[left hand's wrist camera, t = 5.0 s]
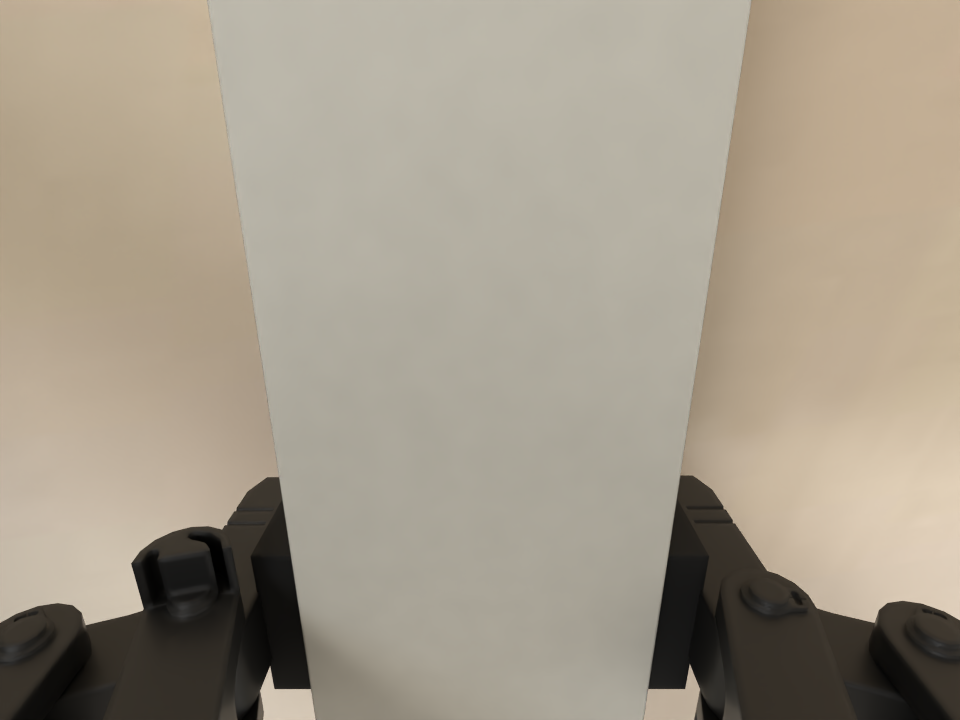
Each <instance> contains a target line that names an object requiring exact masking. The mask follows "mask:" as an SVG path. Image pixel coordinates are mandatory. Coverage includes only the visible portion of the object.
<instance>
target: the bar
mask: <svg viewBox="0 0 960 720" xmlns="http://www.w3.org/2000/svg"><path fill="white" fill-rule="evenodd" d="M751 1H752V0H207V2H208V9H209V15H210V22H211V29H212V35H213V42H214V48H215V55H216V62H217V68H218V75H219V82H220V88H221V95H222V101H223V108H224V115H225V121H226V128H227V135H228V141H229V148H230V154H231V161H232V168H233V174H234V181H235V188H236V194H237V201H238V208H239V214H240V221H241V227H242V234H243V241H244V247H245V254H246V261H247V267H248V274H249V280H250V287H251V294H252V300H253V307H254V314H255V320H256V327H257V333H258V340H259V347H260V353H261V360H262V367H263V373H264V380H265V387H266V393H267V400H268V406H269V413H270V420H271V426H272V433H273V440H274V446H275V453H276V459H277V466H278V473H279V479H280V486H281V493H282V499H283V506H284V512H285V519H286V526H287V532H288V539H289V546H290V552H291V559H292V566H293V572H294V579H295V585H296V592H297V599H298V605H299V612H300V619H301V625H302V632H303V638H304V645H305V652H306V658H307V665H308V672H309V678H310V685H311V691H312V698H313V705H314V711H315V718H316V720H644V713H645V707H646V700H647V693H648V687H649V680H650V673H651V667H652V660H653V653H654V647H655V640H656V633H657V627H658V620H659V613H660V607H661V600H662V593H663V587H664V580H665V573H666V567H667V560H668V553H669V547H670V540H671V533H672V527H673V520H674V513H675V507H676V500H677V494H678V487H679V480H680V474H681V467H682V460H683V454H684V447H685V440H686V434H687V427H688V420H689V414H690V407H691V400H692V394H693V387H694V380H695V374H696V367H697V360H698V354H699V347H700V340H701V334H702V327H703V320H704V314H705V307H706V300H707V294H708V287H709V280H710V274H711V267H712V260H713V254H714V247H715V241H716V234H717V227H718V221H719V214H720V207H721V201H722V194H723V187H724V181H725V174H726V167H727V161H728V154H729V147H730V141H731V134H732V127H733V121H734V114H735V107H736V101H737V94H738V87H739V81H740V74H741V67H742V61H743V54H744V47H745V41H746V34H747V27H748V21H749V14H750V7H751Z"/></svg>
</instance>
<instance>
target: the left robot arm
mask: <svg viewBox="0 0 960 720" xmlns="http://www.w3.org/2000/svg"><path fill="white" fill-rule="evenodd" d="M131 564H132V568H133V571H134V575H135V579H136V582H137V586H138V589H139V593H140V596H141V600H142V604H143V607H144V610H143V611H141V612H138V613H134V614H131V615H128V616H123V617H119V618H115V619H111V620H106V621H102V622H98V623H94V624H90V625H85V622H84V619H83V616H82V613H81V612H80V611H79V610H78V609H76V608H75V607H74V606H73V605H66V604H59V603H56V604H50V605H43V606H37V607H35V608H32V609H29V610H26V611H24V612H21V613H18V614H16V615H14V616H12V617H10V618H8V619H7V620H5V621H3V622H1V623H0V720H263V714H264V711H263V704H262V698H261V693H260V689H261V687H262V684H263V682H264V679H265V677H266V674H267V672H268V670H269V667H271V672H272V677H273V683H274V688H275V689H311V685H310V678H309V672H308V665H307V658H306V652H305V645H304V638H303V632H302V625H301V619H300V612H299V605H298V599H297V592H296V585H295V579H294V572H293V566H292V559H291V552H290V546H289V539H288V532H287V526H286V519H285V512H284V506H283V499H282V493H281V486H280V479H279V477H267V478H266V479H264V480H263V481H262V482H260V483H259V484H258V485H256V486H255V487H253V488H252V489H251V490H249V491H248V492H247V494H246V495H245V497H244V498H243V500H242V501H241V503H240V504H239V505H238V507H237V511H234V513H233V514H232V516H231V517H230V519H229V520H228V524H227V525H225V526H224V528H223V529H222V530H221V529H217V528H213V527H209V526H206V527H190V528H186V529H182V530H178V531H175V532H172V533H169V534H167V535H165V536H163V537H161V538H159V539H157V540H155V541H153V542H152V543H151V544H149V545H148V546H147V547H145V548H144V549H143V550H141V551H140V552H139V554H138V555H137V557H136V558H135V559H134V561H133V562H132V563H131ZM689 665H691V668H692V670H693V673H694V675H695V677H696V680H697V682H698V685H699V687H700V693H699V698H698V703H697V708H696V713H695V718H694V720H960V620H958V619H956V618H955V617H953V616H951V615H949V614H947V613H946V612H944V611H941V610H938V609H935V608H932V607H930V606H927V605H924V604H920V603H913V602H906V601H899V602H892V603H887V604H886V605H885V606H884V607H882V608H881V609H880V610H879V612H878V615H877V618H876V621H875V623H872V622H868V621H863V620H859V619H855V618H851V617H846V616H842V615H838V614H833V613H830V612H827V611H823V610H820V609H817V608H816V607H815V605H814V604H813V602H812V600H811V599H810V597H809V596H808V594H806V593H805V592H804V591H803V590H802V589H801V588H799V587H798V586H797V585H796V584H795V583H793V582H791V581H789V580H787V579H786V578H784V577H782V576H780V575H778V574H775V573H772V572H768V571H767V570H766V569H765V567H764V566H763V564H762V563H761V562H760V560H759V559H758V557H757V556H756V554H755V553H754V551H753V550H752V548H751V547H750V545H749V544H748V542H747V541H746V539H745V538H744V536H743V535H742V533H741V532H740V530H739V529H738V527H737V526H736V524H733V520H732V518H731V517H730V515H729V514H728V513H727V511H726V510H724V509H723V505H722V504H721V502H720V501H719V499H718V498H717V496H716V495H715V493H714V492H713V490H712V489H710V488H709V487H708V486H706V485H705V484H704V483H702V482H701V481H699V480H698V479H697V478H695V477H694V476H680V480H679V487H678V494H677V500H676V507H675V513H674V520H673V527H672V533H671V540H670V547H669V553H668V560H667V567H666V573H665V580H664V587H663V593H662V600H661V607H660V613H659V620H658V627H657V633H656V640H655V647H654V653H653V660H652V667H651V673H650V680H649V687H648V689H685V687H686V681H687V676H688V670H689Z"/></svg>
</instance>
